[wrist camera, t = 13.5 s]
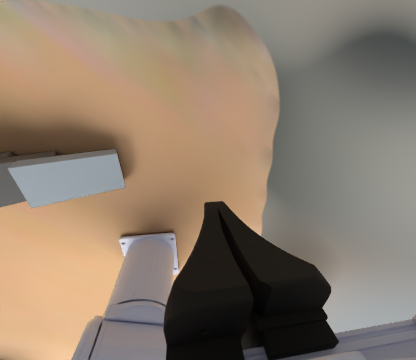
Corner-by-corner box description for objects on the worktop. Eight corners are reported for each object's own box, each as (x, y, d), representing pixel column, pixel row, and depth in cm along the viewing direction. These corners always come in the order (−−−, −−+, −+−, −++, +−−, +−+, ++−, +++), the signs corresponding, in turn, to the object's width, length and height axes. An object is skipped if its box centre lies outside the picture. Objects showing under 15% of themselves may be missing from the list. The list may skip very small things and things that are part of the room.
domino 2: (116, 153, 17) (7, 168, 13) (125, 187, 19) (31, 208, 15) (115, 148, 19) (17, 160, 15) (123, 180, 20) (37, 197, 17)
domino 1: (54, 155, 16) (-88, 176, 12) (69, 190, 18) (-50, 219, 14) (55, 150, 18) (-72, 167, 13) (69, 183, 20) (-39, 207, 15)
